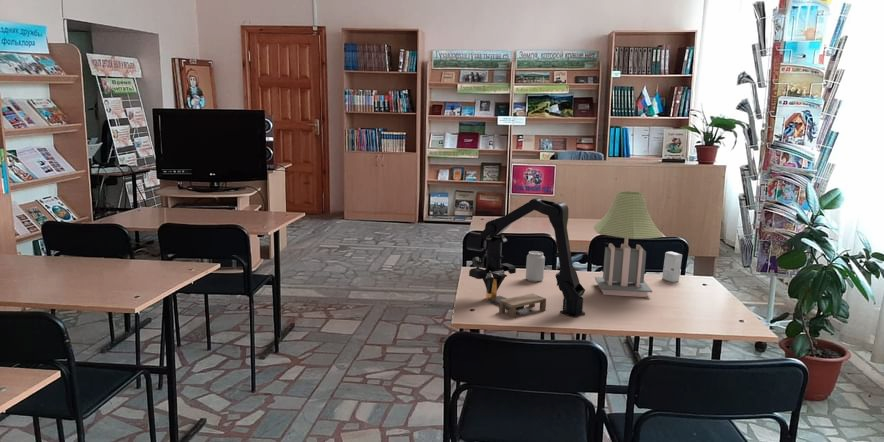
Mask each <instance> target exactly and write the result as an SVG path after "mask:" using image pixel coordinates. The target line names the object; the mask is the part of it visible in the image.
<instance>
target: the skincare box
mask: <svg viewBox="0 0 884 442" xmlns="http://www.w3.org/2000/svg"><path fill="white" fill-rule="evenodd" d="M682 259H683V254H681V253H678V252H674V251H666V252H665V253H664V261H663V269H662V276H661V278H662V280H665V281H668V282H671V283H676V282H679V281H680V276H681V275H680V274H681V268H682Z"/></svg>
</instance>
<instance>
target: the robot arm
mask: <svg viewBox="0 0 884 442" xmlns="http://www.w3.org/2000/svg"><path fill="white" fill-rule="evenodd" d="M534 211H536V212H538V213H540V214H543V215H546V216H547V217H548V220H549V223H550V224H551V226H552V228H553V230H554V236H555V244H556V251H557V257H558V262H559V271H558V272H557V273H556V274H555V279H556V287H558V289H559V291H560V292H561V293H562V296H563V300H562V309H561V310H560V311H559V313H561V314H563V315H567V316H569V317H572V318H573V317H578V316H582V315H586V312H584V311H583V308H584V304H583V303H584V298H583V297H582V296H584V294H585V292H586V289H585V288H584V287H583V285H582V284H581V283H580V279H579V275H578V273H577V271H576V269H575V268H574V266H573V260H572V253H571V247H570V239H569V233H568V222H569V207H568V205H567V204H566V202H562V201H558V202H556V201H551V200H546V199H542V198H539V197H535V198H532V199H530V200H529V201H528V202H526V203H524V204H523V205H521V206H519V207H517V208H516V209H513V210H511V211H510V212H509V213H507V214H505V215H503V216H501V217H497V218H494V219H491V220H489V221H487V222H485V225H484V226H485V227H484V229H483V231H482V232H475V231H469V232H468V236H467V240H466V242H465V247H466V249H467V250H470V251H477V252H483V251H484V250H485V254H483V255H482V258H479V256H475V257H472V259H471V260H472V261H471V263H472V266H473V267H474V268H470V269H469V272H468V276H469V277H471V278H474V279H476V280H482V281H483V282H484V286H485V288H486V290H487V292H488V294H490V293H491V289H492V284H493V279H494V278H496V279H497V291H498V290H499V288H500V287H501V284H502V282H503V281H504V280H505V278H506V277H508V274H510V275H511V274H512V275H513V274H516V272H517V267H516V265H513V264H510V263H508V262H506V263H505V262H504V263H502V260H503V259H504V255H502V247H503V245H502V244H504V243H506V242H508V239H507V238H506V237H505V236H504V234H502V233H503V232H504V231H506V230H507V229H508V228H509V227H510V226H511V225H512V224H513V223H515V222H517V221H518V220H521V219H522V218H524V217H526V216H527V215H529V214H531V213H533V212H534ZM500 234H502V235H500ZM498 235H500V236H498ZM505 272H508V274H506V273H505Z"/></svg>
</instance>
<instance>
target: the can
mask: <svg viewBox="0 0 884 442" xmlns="http://www.w3.org/2000/svg"><path fill="white" fill-rule="evenodd" d="M545 261H546V256H544V252H543V251H536V250H531V251H528V254H527V255H526V263H525V264H526V265H525V279H526V280H527V281H529V282H532V283H533V282H534V283H536V282H537V281H540V282H542V281H543V280H544V277H545V276H544V275H545ZM537 283H538V282H537Z"/></svg>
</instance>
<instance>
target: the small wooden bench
mask: <svg viewBox="0 0 884 442" xmlns="http://www.w3.org/2000/svg"><path fill="white" fill-rule="evenodd" d="M538 303H539V311H541V312H545V311H546V309H547V306H546V305H547V298H546V297H543V296H540V295H538V294H535V293H529V294H524V295H519V296H514V297H508V298H507V299H503V300H500V304H499V305H498V307H499V309H498V312H499V313H500V314H505V313H506V308H505V305H506V306H509V307H510V310H509V317H510V318H512V319H514V318H516V316H517V312H516V307H521V306H524V307H526V306H529V307H530V308H534V307H535V306H536V304H538Z"/></svg>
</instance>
